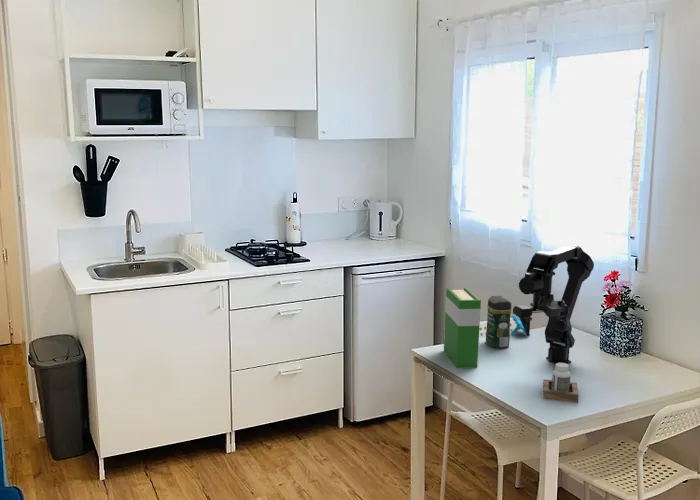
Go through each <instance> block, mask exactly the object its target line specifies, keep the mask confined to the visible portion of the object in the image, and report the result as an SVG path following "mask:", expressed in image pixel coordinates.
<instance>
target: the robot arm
mask: <svg viewBox="0 0 700 500" xmlns="http://www.w3.org/2000/svg"><path fill="white" fill-rule="evenodd" d="M564 262H565V263H566V271H567V275H568V280H567V281H566V285H565V287H564V291H563V294H562V297H561V299H560V300H555V299H554V298H555V297H554V293H552V288H553V287H552V283H553V276H555V275H556V273H555V271H554V270H556V269H557V268H558V266H559V264H562V263H564ZM594 267H595V263H594V261H593V259H592V257H591V256H590V255H589V254H588V253H587V252H585V251H584V249H583V248H582V247H581V246H578V245H574V244H568V245H567V244H566V245H565V246H563V247H560V248H557V249H555V250H551V251H536V252H534V255H532V257H531V259H530V262H529V263H528V267H527V268H526V270H525V271H526V273H525V274H524V277H522V278H520V279H519V282H518V289H519V290H520V292H521V293H522V294H524V295H533V297H532V302H530V304H529V305H530V307H529V306H527V305H524V304H520V305H519V304H518V305H514V306H513V308H512V314H513V315H514V316H516V317H517V318H518V319H519V320H520V321H521V322H522V325H523V327H524V330H525V333H524V334H525V335H526V336H527V335H528V336H530V335H529V333H530V332H531V329H530V328H531V322H532V320H533V317H532V316H533V314H536V313H537V314H539V313H544V314H545V316H546V317H548V320H547V325H546V327H545V329H544V338H545V343H547V344H549V347H548V349H547V352H548V353H547V356H546V358H545V359H547V360H548V361H549V362H552V363H553V364H555V365H556V363H566V364H570V363H572V360H570V348H571V349H572V348H573V347H574V345H575V343H576V342H575V341H576V339H575V337H574V336H573V335H572V334H573V333H572V330H573V328H572V323H571V317H572V315H573V311H574V308H575V305H576V303H577V300H578V297H579V294H580V291H581V287H582V286H583V282H585V281H586V280H587V279H588V278H589V277H590V276H591V273H592V271H593V270H594ZM528 336H527V337H528Z"/></svg>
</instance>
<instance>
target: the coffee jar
mask: <svg viewBox="0 0 700 500" xmlns="http://www.w3.org/2000/svg"><path fill="white" fill-rule="evenodd" d="M512 310H513V308H512V302H511V301H510V300H509V299H507V298H505V297H503V296H502V295H491V296H490V297H489V298H488V299H487V319H486V331H485V332H486V333H485V342H486V343H487V344H488V346H490V347H491V348H498V349H506V348H507V347H509V346H510V340H511V339H510V337H511V336H510V335H511V328H510V327H511V313H512Z"/></svg>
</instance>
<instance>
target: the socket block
mask: <svg viewBox="0 0 700 500" xmlns="http://www.w3.org/2000/svg"><path fill="white" fill-rule="evenodd" d="M542 382H543V383H542V399H543V400H550V401H559V402H568V403H576V404H577V403H579V389H578V382H574V381H570V386H569V392H564V391H555V390H551V388H552V379H546V378H544V379H543V381H542Z"/></svg>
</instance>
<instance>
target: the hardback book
mask: <svg viewBox="0 0 700 500" xmlns="http://www.w3.org/2000/svg"><path fill="white" fill-rule="evenodd" d="M445 292H446V293H445V311H444V313H445V315H444V332H443V333H444V335H443V336H444V337H443V339H444V340H443V352H444V353H445V355H446V356H447V358H449V360H450V361H451V363H452V364H453V365H454V366H455V368H456V369H462V368H463V369H465V368H478V364H479V363H478V362H479V361H478V360H479V358H478V357H479V343H480V341H479V340H480V326H481V325H480V324H481V322H480V321H481V306H482V305H481V304H482V300H481V299H480V298H479V297H478V296H477V295H476V294H475V293H473V292H472V291H471V290H470V289H469V288H468V287H463V289H451V288H450V287H446V289H445Z"/></svg>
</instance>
